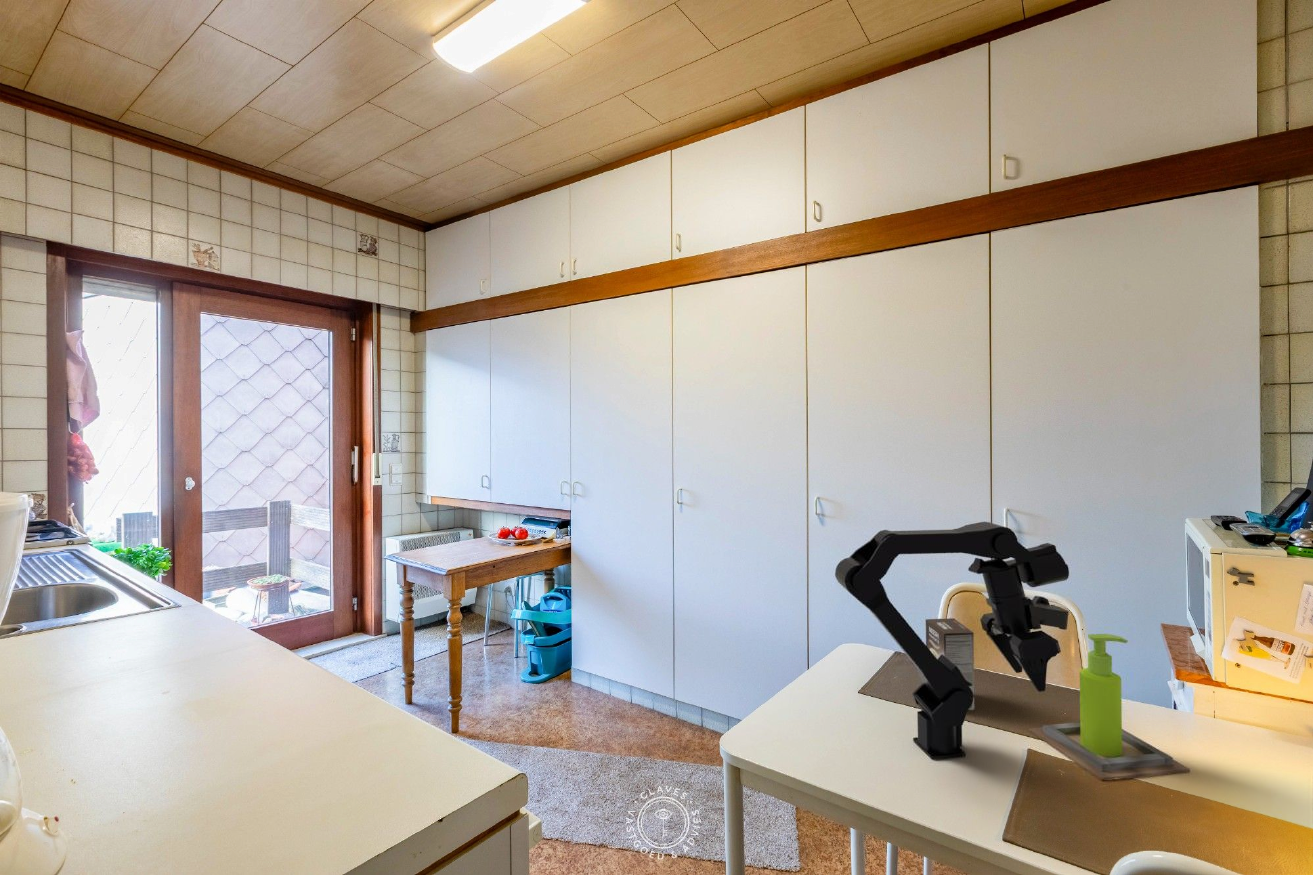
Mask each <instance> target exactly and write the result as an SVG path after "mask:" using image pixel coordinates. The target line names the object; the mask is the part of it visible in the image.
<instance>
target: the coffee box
mask: <svg viewBox="0 0 1313 875" xmlns="http://www.w3.org/2000/svg"><path fill="white" fill-rule="evenodd" d="M974 635H975V634H974V632H973V631H972V630H970V629H969V628H967V627H966V626H965V625H964V624H962V623H961V622H959V621H958V620H957V619H955V618H954V617H953V618H951V617H950V618H927V619H925V645H926V646H927V647H928V648H929V650H930V651H931V652H932V653H933V655H934V656H935V657H936V658H937V659H938V658H939V657H940V656H941V654H943V655H944V656H945V657H946V658H947V659H949V660H950V661H951V662H952V663H953V664H955V665H956V666H957V667H958V669H959V670H960V671H961V673H962V675H963V677H964V678H966V679H967V680H968V681H969V682H970V683H972V686H969V687H970V688H971V690H972V692H973V694H974V695H975V655H974V654H975V650H974V649H975V648H974V647H975V646H974V645H975V642H974V640H975V639H974ZM974 710H975V697H974V698H973V703H972V705H971V707H970V708H969V709H968V711H974Z"/></svg>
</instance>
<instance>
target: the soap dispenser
mask: <svg viewBox="0 0 1313 875" xmlns="http://www.w3.org/2000/svg"><path fill="white" fill-rule="evenodd" d="M1087 638H1088V639H1089V640H1091V641H1092V642H1093V650H1091V651H1089V652H1088V653H1087V667H1083V668H1081V669H1080V670H1079V712H1080V713H1079V719H1080V721H1079V722H1080V738H1081V745H1082V746H1084V747H1085V748H1087V749H1088V750H1090V751H1091V752H1093V753H1095V754H1097V755H1101V756H1105V757H1119V756H1121V755H1122V729H1123V727H1122V725H1123V724H1122V723H1123V721H1122V720H1123V718H1122V717H1123V716H1122V711H1123V710H1122V705H1123V704H1122V677H1121V676H1120V675H1119V674H1117V673H1115V672H1113V657H1112V655H1110V654H1109V653H1108V652H1107V651H1106V650H1107V649H1106V648H1107V647H1106V646H1107V645H1106V644H1107V643H1106V642H1119V643H1124V644H1126V643H1128V639H1125V638H1124V637H1122V636H1120V635H1115V634H1108V633H1091V634H1087Z"/></svg>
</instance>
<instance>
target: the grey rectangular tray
mask: <svg viewBox="0 0 1313 875" xmlns="http://www.w3.org/2000/svg"><path fill="white" fill-rule="evenodd" d="M1028 730H1029V732H1030V733H1032V734H1033V735H1034V736H1035V737H1038V738H1039V739H1040V740H1042V741H1043V742H1044V743H1046V744H1047V745H1049V746H1050V747H1052V748H1053V749H1055V751H1058V752H1059V753H1060V754H1062V755H1063V756H1064V757H1066V758H1067V759H1069V760H1071V761H1072V762H1073V763H1075V764H1076V763H1077V765H1078V766H1080V768H1082V769H1084V770H1085V769H1086V770H1085V771H1086V772H1088V771H1089V772H1088V773H1090V774H1091V773H1092V774H1091V775H1093V776H1094V775H1095V776H1096V777H1095V776H1094V777H1095V778H1097V779H1098V778H1099V779H1098V780H1099V781H1101V780H1106V781H1111V780H1110V779H1115V778H1126V779H1134V778H1135V779H1136V778H1142V777H1143V778H1145V777H1152V776H1153V777H1155V776H1164V775H1165V776H1166V775H1172V774H1173V775H1174V774H1183V773H1190V772H1191V768H1189V767H1188V766H1186V765H1184V764H1182V763H1180V762H1178V761H1176V760H1175V759H1174V757H1172V756H1171V755H1169V754H1167V753H1166V752H1164V751H1162V750H1161V749H1159V748H1157V747H1155V746H1153V745H1152V744H1150V743H1148V742H1146V741H1145V740H1142V739H1141V738H1139V737H1137V736H1136V735H1134V734H1132V733H1131V732H1129V731H1126V730H1125V729H1123V728H1122V755H1121V756H1119V757H1105V756H1101V755H1097V754H1095V753H1093V752H1091V751H1090V750H1088V749H1087V748H1085V747H1084V746H1082V745H1081V738H1080V721H1078V722H1065V723H1056V724H1054V723H1053V724H1045V725H1044V724H1043V725H1042V726H1041V727H1033V728H1029V729H1028Z"/></svg>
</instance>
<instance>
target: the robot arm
mask: <svg viewBox="0 0 1313 875" xmlns="http://www.w3.org/2000/svg"><path fill="white" fill-rule="evenodd" d="M926 554H927V555H928V554H967V555H971V556H977V557H975V558H974V560H973V562H972V563H971V564H970V566H969V567H968V569H967V570H968V571H969V572H971V573H974V574H977V575H982V578H983V581H984V585H985V588H986V592H987V596H988V598H985V600H986V605H988V606H989V607H990V608H991V611H992V612H988V613H983V615H982V616H981V618H980V619H979V620H980V623H981V628H982V630H983V631H985V633H986V635H987V636H988V638H989V639H990V640H991V641H992V643H993V644H994V646H995V647H996V648H997V650H998V651H999V652H1000V653H1001V655H1002V656H1003V657H1004V659H1005V660H1006V661H1007V662H1008V665H1010V667H1011V668H1012V669H1013V671H1014V672H1015V673H1016V674H1021V673H1023V671H1024V673H1025V675H1026V676H1027V677H1028V679H1029V681H1030V682H1031V683H1032V684H1033V686H1034V687H1035V689H1036V691H1037V692H1039V693H1040V692H1045V691H1046V684H1047V683H1046V682H1047V673H1048V672H1047V671H1048V670H1047V669H1048V664H1049V661H1050V660H1051V659H1052V658H1054V657H1057V655H1058V654H1060V653H1061V652H1062V650H1061V646H1060V644H1059V640H1058V639H1057V638H1055V637H1053V636H1051V635H1049V634H1048V633H1047V632H1044V631H1043V630H1042V626H1045V627H1052V628H1057V629H1059V630H1065V631H1066V630H1068V620H1069V612H1070V611H1068V610H1067V609H1065V608H1063V607H1060V606H1057V605H1055V604H1051V603H1050V601H1049V599H1048V598H1046V597H1045V596H1040V595H1034V597H1033V598H1030V597H1028V596H1026V593H1025V590H1024V587H1023V584H1026V585H1027V586H1029V588H1030V587H1031V588H1036V587H1042V586H1046V585H1051V584H1054V583H1055V584H1056V583H1060V582H1065V581H1067V580H1068V579H1069V576H1070V570H1069V565H1068V564H1067V562H1066V561H1065V559H1064V557H1063V556H1062V555H1061V554H1060V553H1059V551H1058V550H1057V546H1056V545H1055V544H1052V543H1049V542H1045V543H1041V544H1039V545H1037V546H1032V547H1028V548H1026V547H1025V546H1024V545H1023V544H1022V543H1020V542H1019V540H1018V537H1017V535H1016V533H1015V531H1013V530H1012V529H1011V528H1009V527H1006V526H1003V525H1000V524H996V523H993V522H990V521H981V522H974V523H969V524H965V525H962V526H961V527H957V528H953V529H928V530H927V529H921V530H920V529H919V530H888V529H883V530H879V531H878V532H877V533H876V534H875V535H874V536H873V537H872V538H871V539H870V540H868V541H867V542H866V543H864V544H863V545H861V546H860V547H859V548H857V549H856V550H855V551H854V552H852V554H851V555H850V556H849V557H847V558H844V559H842V560H840V561H839V563H838V564H837V566H836V567H835V573H834V576H835V579H836V580H837V582H838V583H839V585H840V586H842V588H843V589H845V590H846V591H847V592H848V593H849V594H850V595H852V596H853V597H854V598H855V599H856V600H857V601H858V602H860V603H861V604H862V605H863V606H864V607H866V608H867V609H868V610H869V611H870V613H871V614H872V615H873V617H874V618H876V619H877V621H878V622H879V623H880V625H881V626H882V627H883V628H884V629H885V631H886V632H887V633H888V634H889V636H890V637H891V638H892V639H893V640H894V642H895V643H896V644H897V645H898V647H899V648H900V649H901V650H902V651H903V653H904V654H905V655H906V657H907V658H908V659H909V660H910V661H911V662H912V664H913V665H914V666H915V668H916V671H917V674H918V676H919V678H920V679H921V682H922V683H921V684H920V685H919V686H918V687H917V689H915V691H913V692H912V694H911V695H912V698H913V700H914V702H915V704H916V705H917V706H918V708H920V709H921V710H919V711H917V736H916V737H913V738H912V741H913V743H915V744H916V745H917V746H918V748H920V749H921V750H922V751H923V752H924V753H925V754H926V755H927V756H929V758H930V759H932V760H939V759H940V760H941V759H951V758H960V757H962V758H963V757H966V755H967V752H966V751H965V750H963V749H962V748H963V725H964V722H965V719H966V717H967V714H968V712H969V710H968V709H969V708H970V707H971V705H972V703H973V698H974V699H975V693H974V694H973V692H972V690H971V688H970V687H969V686H972V683H970V682H969V681H968V680H967V679H966V678H964V677H963V675H962V673H961V671H960V670H959V669H958V667H957V666H956V665H955V664H953V663H952V662H951V661H950V660H949V659H947V658H946V657H945V656H944V655H943V654H941V656H940V657H939V658H938V659H937V658H936V657H935V656H934V655H933V653H932V652H931V651H930V650H929V648H928V647H927V646H926V643H925V642H924V641H923V640H922V639H921V637H920V636H919V635H918V634H917V633H916V631H915V630H914V628H912V626H911V625H910V624H909V623H908V621H906V619H905V618H904V617H903V615H902V614H901V613H900V611H899V610H897V608H896V607H895V606H894V605H893V604H892V602H891V601H890V599H889V597H888V593H887V592H886V590H885V587H884V585H883V582H882V581H881V580H882V579H883V578H884V577H885V576H886V574H887V573H888V571H889V570H890V567H891V566H892V564H893V562H894V560H895V559H896V558H897V557H898V556H899V555H926ZM979 557H981V558H979ZM982 558H988V560H984V559H982ZM1009 558H1011V559H1010V560H1007V559H1009ZM1040 629H1041V630H1040ZM1031 630H1033V631H1031Z"/></svg>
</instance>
